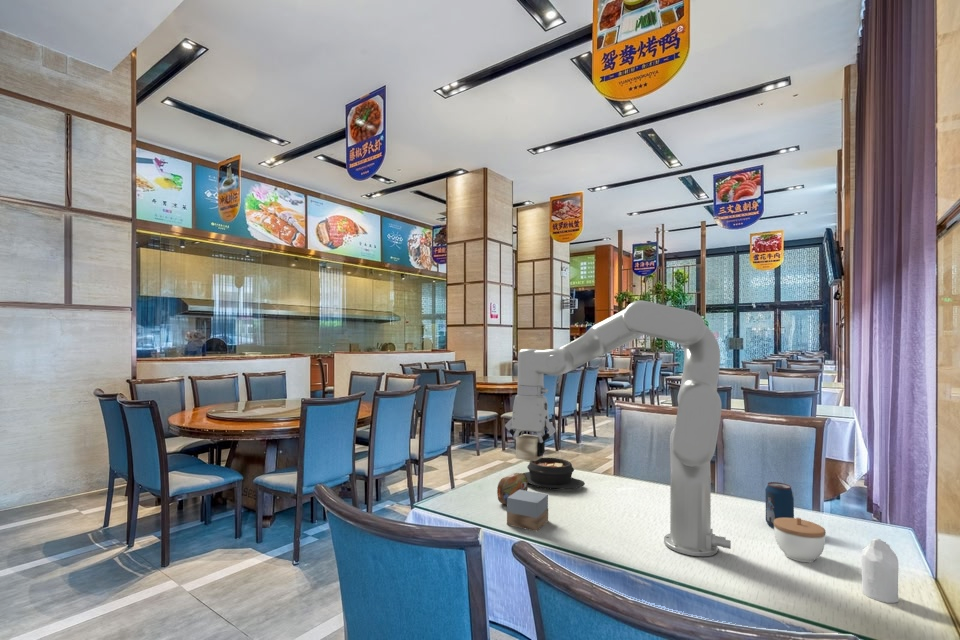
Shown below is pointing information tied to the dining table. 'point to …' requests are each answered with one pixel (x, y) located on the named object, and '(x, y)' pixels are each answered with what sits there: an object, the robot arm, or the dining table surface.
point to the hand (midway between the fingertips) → (529, 453)
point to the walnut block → (527, 520)
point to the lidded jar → (799, 538)
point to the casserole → (552, 474)
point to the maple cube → (527, 447)
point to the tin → (511, 486)
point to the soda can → (778, 502)
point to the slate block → (527, 503)
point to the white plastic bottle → (880, 572)
